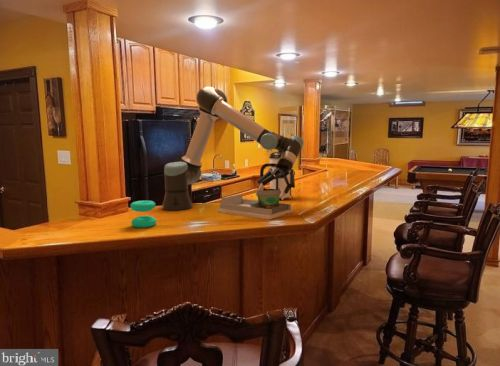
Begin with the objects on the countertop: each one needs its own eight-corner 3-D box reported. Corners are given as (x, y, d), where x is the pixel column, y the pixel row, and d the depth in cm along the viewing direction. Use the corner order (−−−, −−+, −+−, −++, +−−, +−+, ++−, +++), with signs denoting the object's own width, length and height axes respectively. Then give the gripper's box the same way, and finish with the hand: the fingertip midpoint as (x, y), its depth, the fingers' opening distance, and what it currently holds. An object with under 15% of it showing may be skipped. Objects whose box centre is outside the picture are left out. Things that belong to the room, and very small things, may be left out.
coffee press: (272, 196, 224) (271, 146, 220) (297, 198, 217) (297, 146, 213) (259, 201, 209) (259, 147, 205) (286, 202, 202) (286, 147, 198)
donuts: (159, 202, 152) (135, 205, 146) (160, 225, 154) (137, 229, 147) (149, 199, 160) (126, 201, 154) (150, 221, 161) (127, 225, 155)
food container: (262, 213, 168) (262, 191, 166) (256, 211, 173) (256, 189, 172) (285, 210, 173) (285, 189, 171) (279, 208, 178) (279, 188, 177)
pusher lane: (218, 211, 180) (217, 198, 179) (243, 205, 196) (243, 193, 195) (268, 219, 162) (268, 204, 161) (292, 211, 177) (292, 198, 176)
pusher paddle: (242, 209, 174) (242, 202, 174) (259, 205, 185) (259, 198, 185) (253, 211, 171) (253, 203, 170) (269, 206, 181) (269, 199, 181)
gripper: (311, 168, 176) (295, 204, 166) (268, 166, 192) (251, 199, 182) (305, 158, 171) (288, 194, 162) (262, 157, 187) (244, 190, 177)
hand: (268, 197), depth 172 cm, fingers open, 13 cm apart
